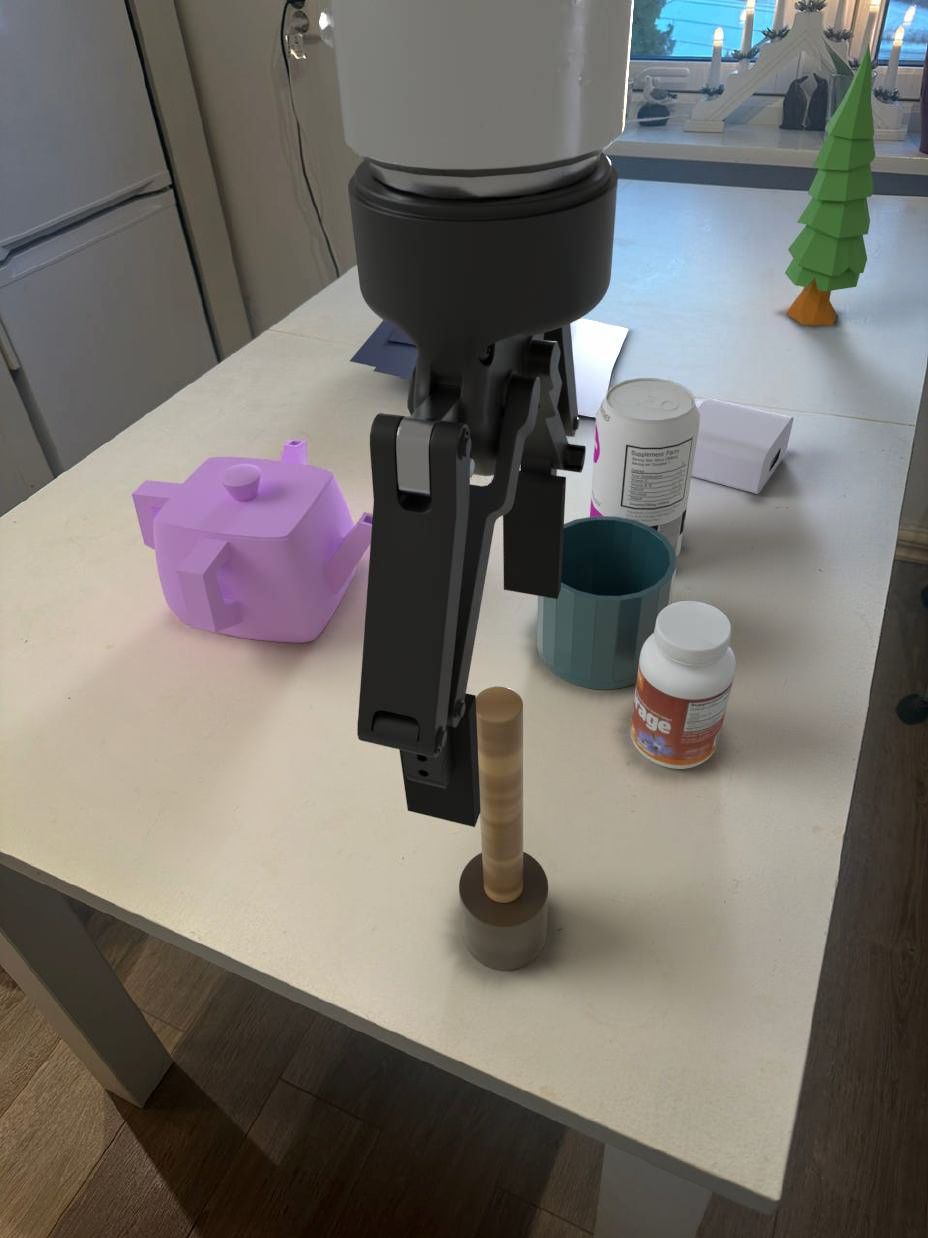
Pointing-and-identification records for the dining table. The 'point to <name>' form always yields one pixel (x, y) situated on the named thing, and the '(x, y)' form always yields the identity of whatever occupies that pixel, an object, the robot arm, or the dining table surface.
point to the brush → (502, 847)
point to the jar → (605, 601)
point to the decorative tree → (836, 207)
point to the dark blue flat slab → (589, 343)
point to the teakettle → (254, 545)
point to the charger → (739, 444)
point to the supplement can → (645, 454)
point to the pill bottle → (683, 685)
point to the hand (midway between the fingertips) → (493, 687)
